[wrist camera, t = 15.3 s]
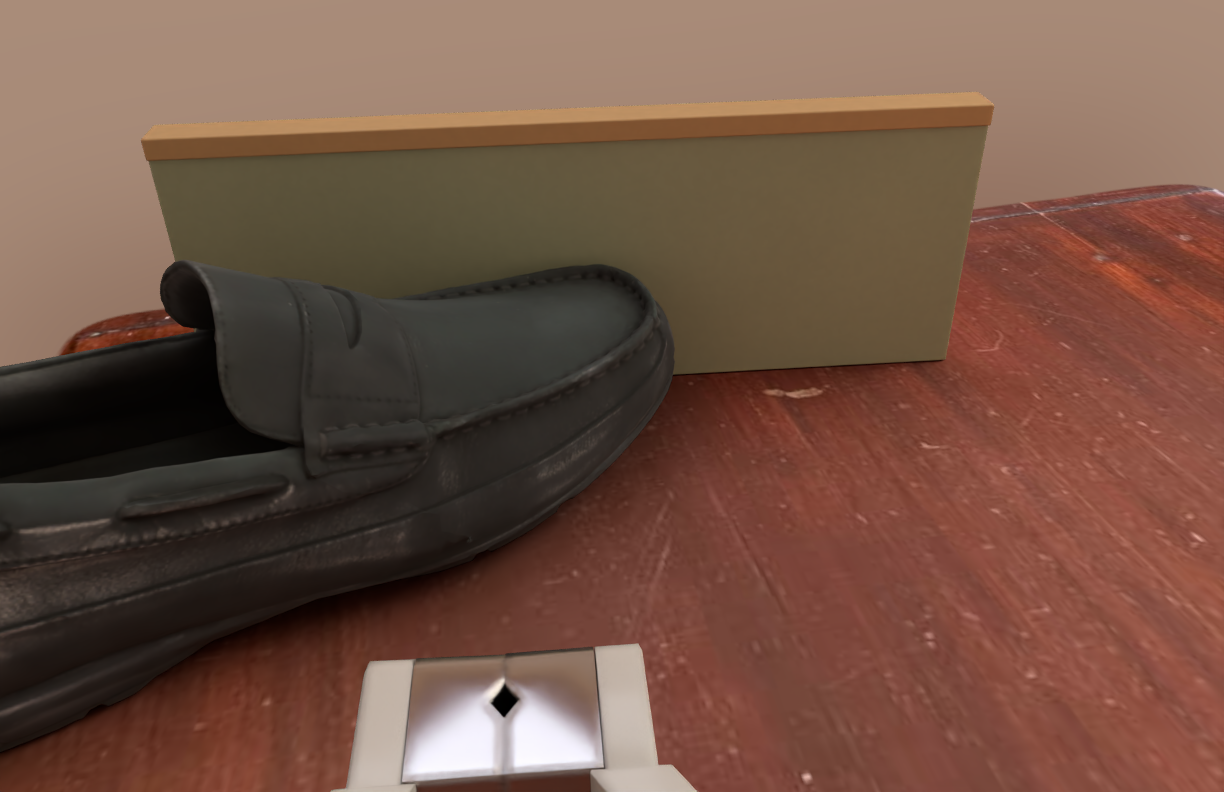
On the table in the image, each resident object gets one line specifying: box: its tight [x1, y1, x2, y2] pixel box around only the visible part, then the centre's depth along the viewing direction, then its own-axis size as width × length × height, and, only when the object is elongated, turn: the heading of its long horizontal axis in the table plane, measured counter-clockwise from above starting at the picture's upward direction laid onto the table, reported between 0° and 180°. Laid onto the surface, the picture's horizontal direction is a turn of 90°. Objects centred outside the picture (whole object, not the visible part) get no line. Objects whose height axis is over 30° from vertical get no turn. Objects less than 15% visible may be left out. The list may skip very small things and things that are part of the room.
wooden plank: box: [141, 92, 994, 375], centre depth 40 cm, size 30×2×11 cm, turn 95°
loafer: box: [0, 260, 675, 752], centre depth 31 cm, size 10×29×10 cm, turn 131°
